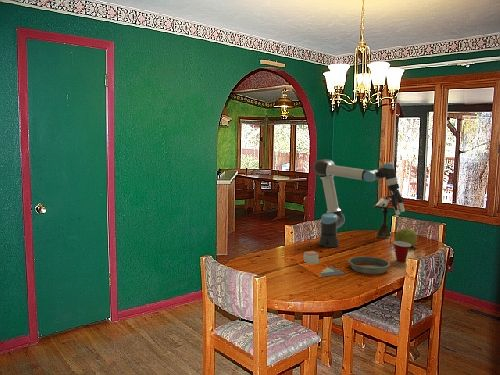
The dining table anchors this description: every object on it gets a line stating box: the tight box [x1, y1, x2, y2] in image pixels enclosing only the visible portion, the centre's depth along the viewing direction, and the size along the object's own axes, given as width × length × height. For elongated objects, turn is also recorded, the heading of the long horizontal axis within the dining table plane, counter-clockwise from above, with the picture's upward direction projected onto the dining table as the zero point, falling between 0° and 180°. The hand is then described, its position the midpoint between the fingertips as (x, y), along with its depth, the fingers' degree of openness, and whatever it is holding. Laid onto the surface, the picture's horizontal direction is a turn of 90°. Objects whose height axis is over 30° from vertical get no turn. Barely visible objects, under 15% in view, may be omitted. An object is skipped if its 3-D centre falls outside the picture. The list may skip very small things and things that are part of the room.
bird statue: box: [373, 194, 393, 239], centre depth 341 cm, size 17×13×35 cm
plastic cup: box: [393, 240, 411, 263], centre depth 278 cm, size 11×11×12 cm
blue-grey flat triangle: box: [318, 265, 346, 278], centre depth 264 cm, size 34×18×1 cm, turn 22°
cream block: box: [303, 250, 320, 264], centre depth 271 cm, size 7×7×7 cm
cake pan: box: [348, 255, 390, 275], centre depth 262 cm, size 25×25×4 cm
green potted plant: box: [394, 227, 418, 248], centre depth 314 cm, size 16×14×15 cm
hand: (400, 213), depth 301 cm, fingers open, 13 cm apart
